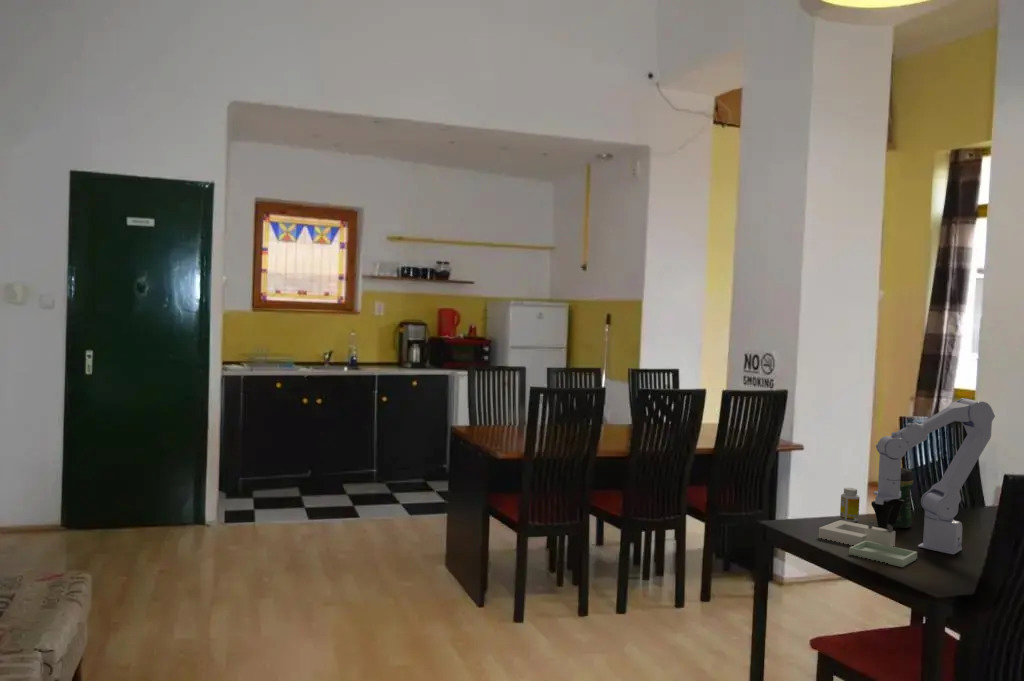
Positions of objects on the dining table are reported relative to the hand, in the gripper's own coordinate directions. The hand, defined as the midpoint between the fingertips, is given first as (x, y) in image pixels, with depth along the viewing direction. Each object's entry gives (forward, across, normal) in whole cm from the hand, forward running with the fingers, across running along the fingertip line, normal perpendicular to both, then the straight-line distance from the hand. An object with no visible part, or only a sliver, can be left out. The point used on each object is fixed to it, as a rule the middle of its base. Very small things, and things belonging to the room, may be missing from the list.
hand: (887, 525), depth 231 cm
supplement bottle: (+6, -22, -20) cm, 30 cm away
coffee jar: (+6, -27, -8) cm, 29 cm away
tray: (+6, +12, +4) cm, 14 cm away
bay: (+6, 0, -10) cm, 11 cm away
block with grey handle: (+6, 0, -2) cm, 6 cm away
